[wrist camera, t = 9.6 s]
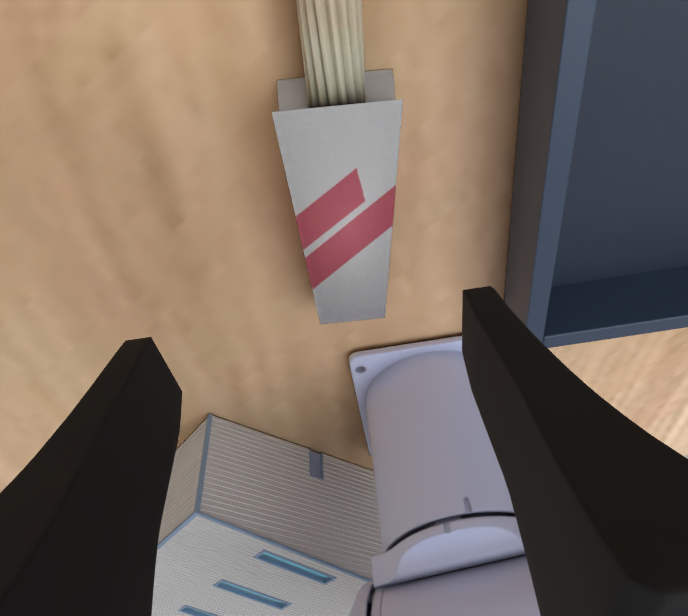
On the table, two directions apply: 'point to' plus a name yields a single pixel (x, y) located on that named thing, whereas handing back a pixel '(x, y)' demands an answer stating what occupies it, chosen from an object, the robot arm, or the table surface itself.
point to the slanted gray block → (263, 528)
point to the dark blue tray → (601, 171)
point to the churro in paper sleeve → (341, 161)
